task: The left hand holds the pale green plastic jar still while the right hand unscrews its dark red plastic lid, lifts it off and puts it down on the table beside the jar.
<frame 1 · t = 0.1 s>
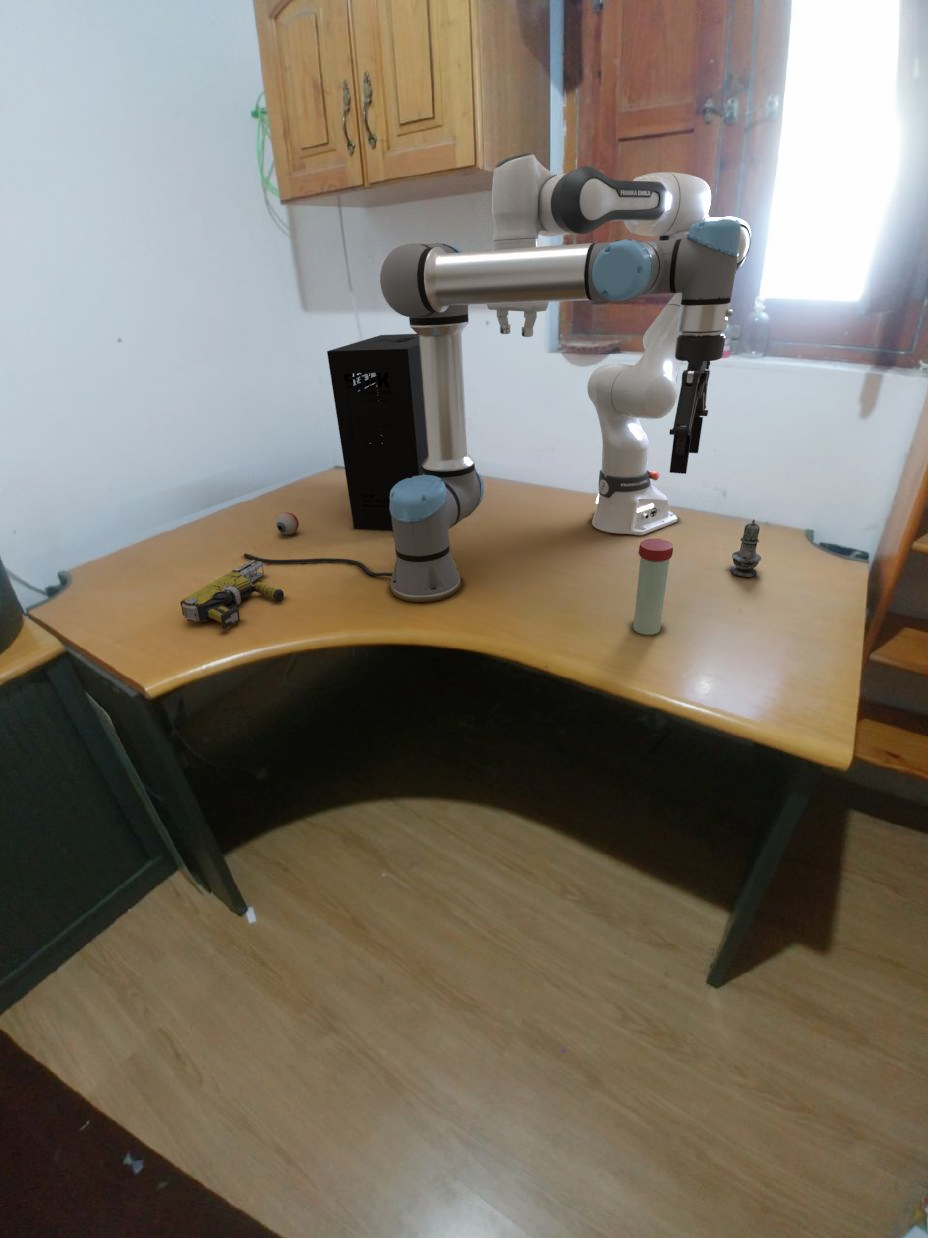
left hand: (684, 462, 109), 28 cm above the table, tool pointing down, fingers open, 13 cm apart
right hand: (516, 335, 125), 48 cm above the table, tool pointing down, fingers open, 8 cm apart
toy gun: (247, 602, 131), on the table
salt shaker: (743, 572, 132), on the table
jar: (646, 628, 114), on the table
black computer case: (409, 506, 180), on the table
eyeball: (289, 534, 165), on the table
lid: (656, 546, 105), point 17 cm above the table, screwed on, not yet turned
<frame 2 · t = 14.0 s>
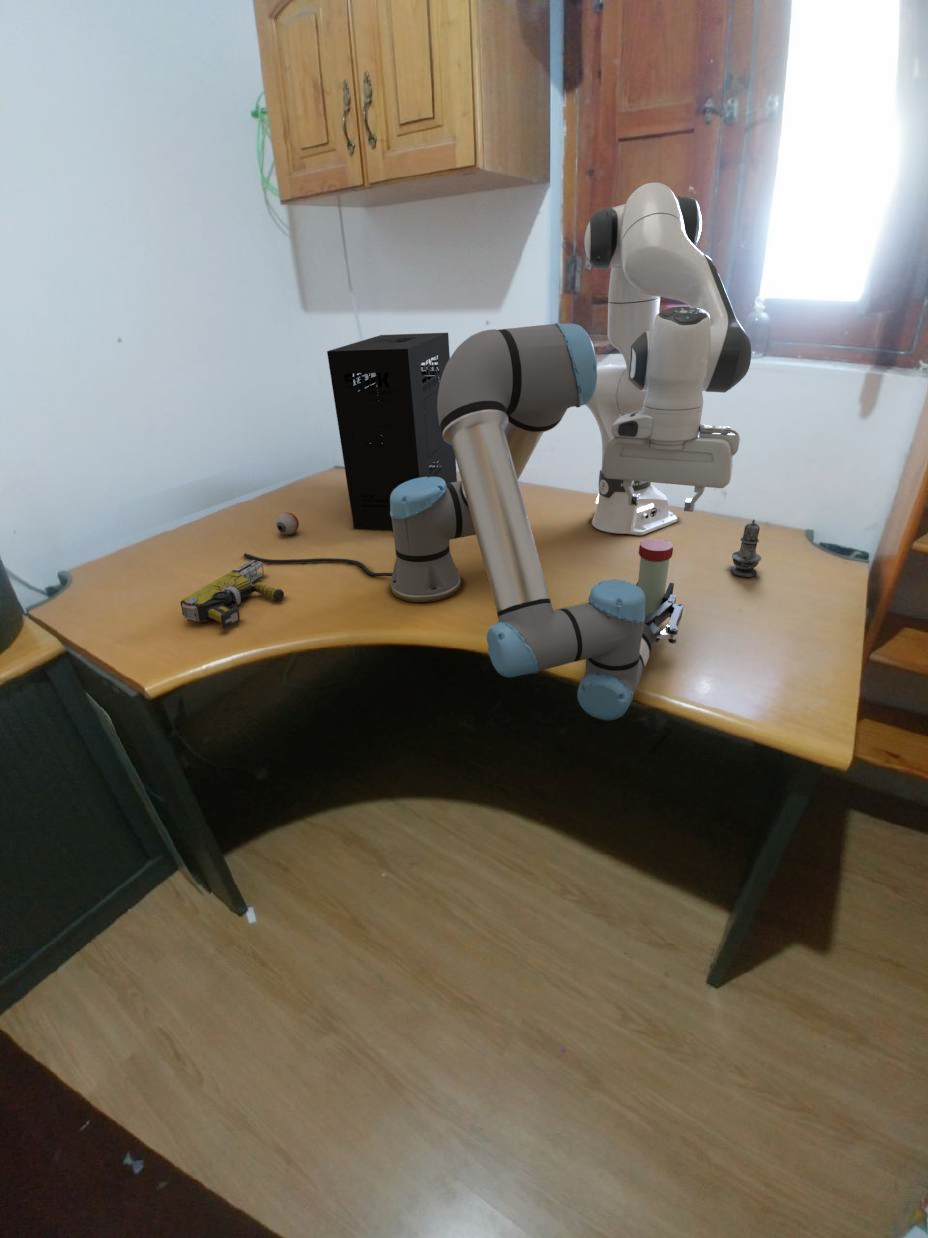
left hand: (655, 587, 115), 6 cm above the table, tool horizontal, fingers closed on jar, 5 cm apart
right hand: (660, 507, 102), 24 cm above the table, tool pointing down, fingers open, 8 cm apart
jar: (646, 628, 114), on the table, touching left hand
everything else where it was.
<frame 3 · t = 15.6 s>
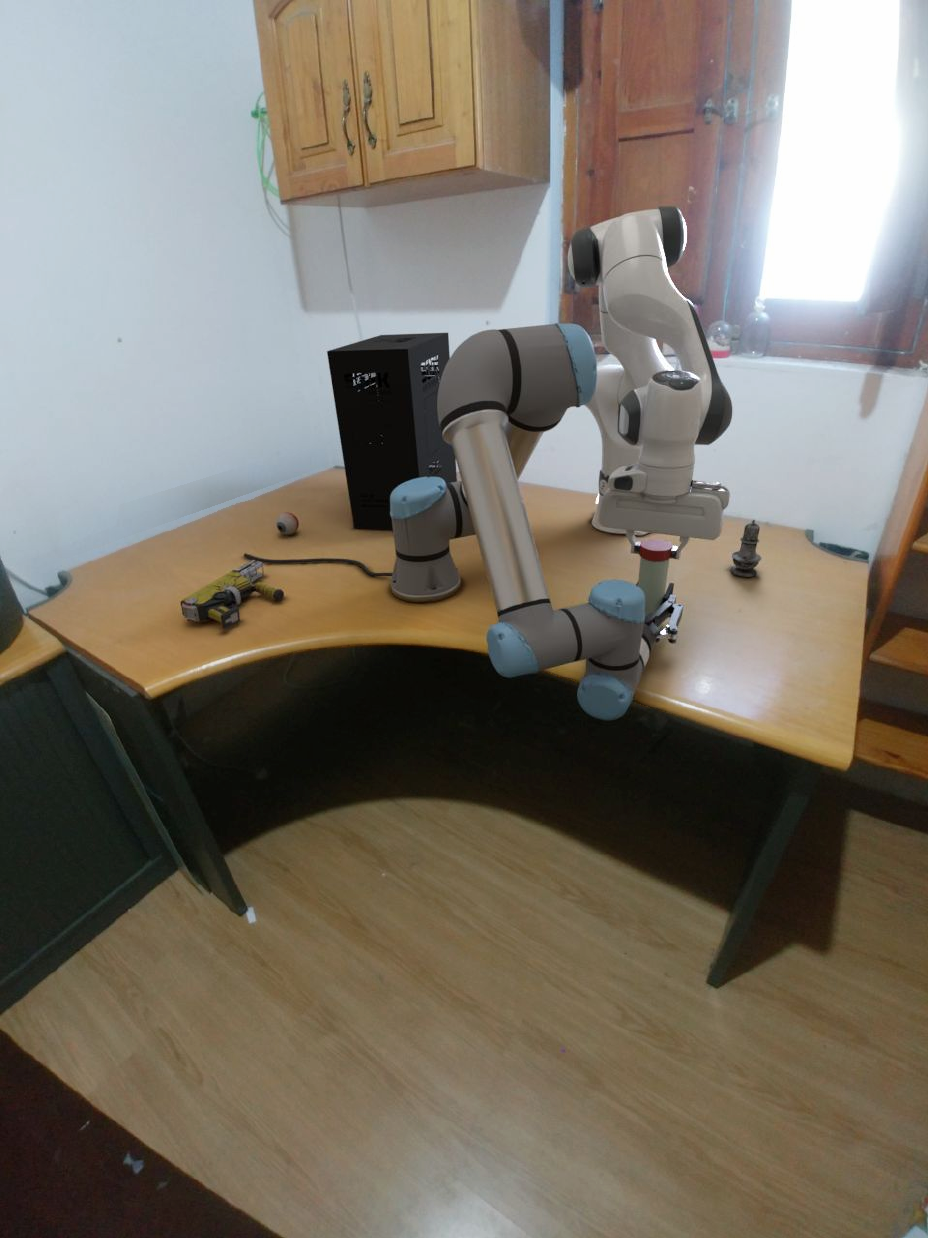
left hand: (655, 587, 115), 6 cm above the table, tool horizontal, fingers closed on jar, 5 cm apart
right hand: (654, 555, 106), 15 cm above the table, tool pointing down, fingers closed on lid, 5 cm apart
jar: (646, 628, 114), on the table, touching left hand
lid: (656, 546, 105), point 17 cm above the table, screwed on, not yet turned, touching right hand
everything else where it was.
when the right hand's fingers open (15 cm above the table, at t = 17.0 s): lid stays where it is, point 17 cm above the table.
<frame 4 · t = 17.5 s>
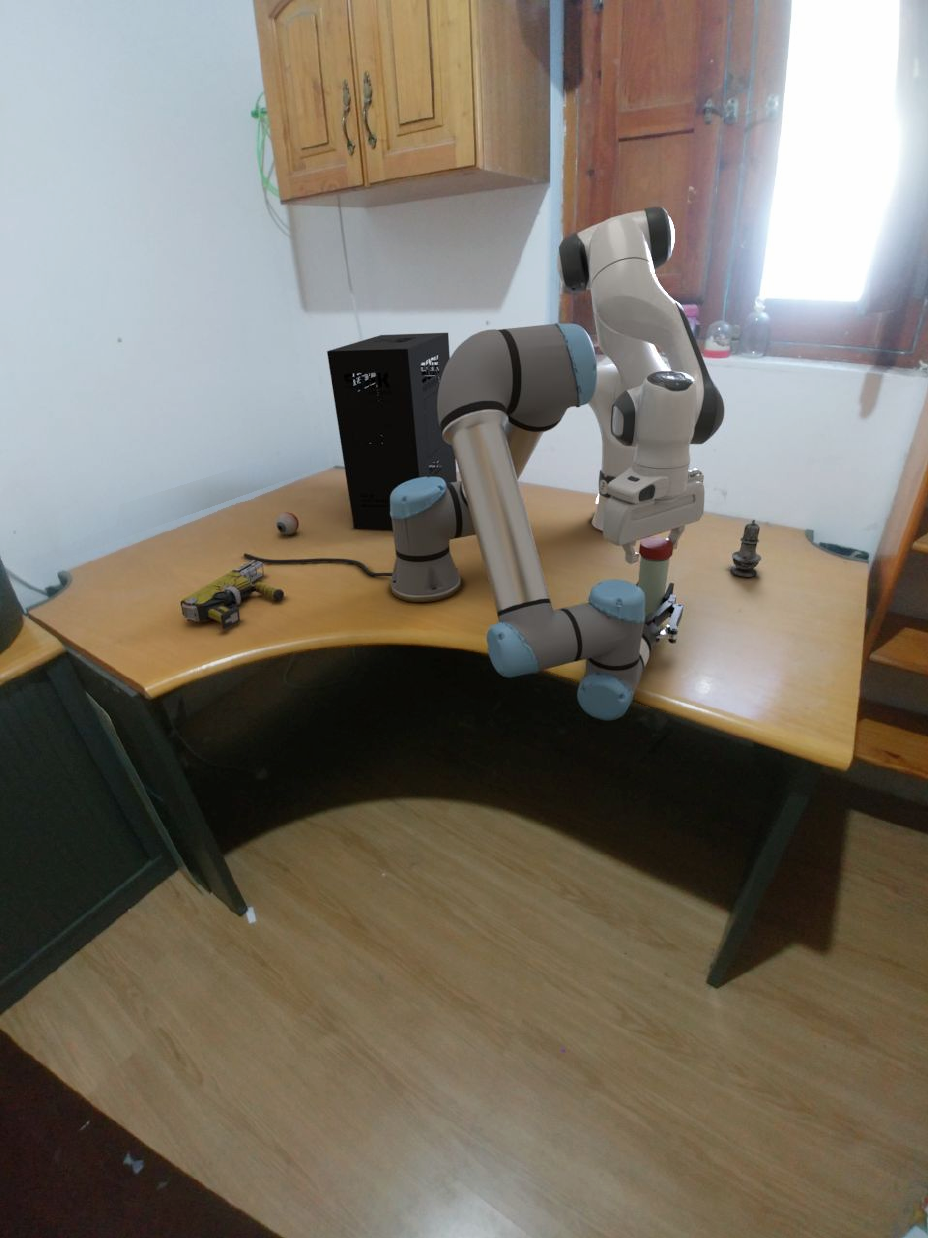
left hand: (655, 587, 115), 6 cm above the table, tool horizontal, fingers closed on jar, 5 cm apart
right hand: (651, 555, 106), 15 cm above the table, tool pointing down, fingers open, 8 cm apart
jar: (646, 628, 114), on the table, touching left hand
lid: (656, 545, 105), point 17 cm above the table, turned 88° so far, risen 0.2 cm, still on its thread
everything else where it was.
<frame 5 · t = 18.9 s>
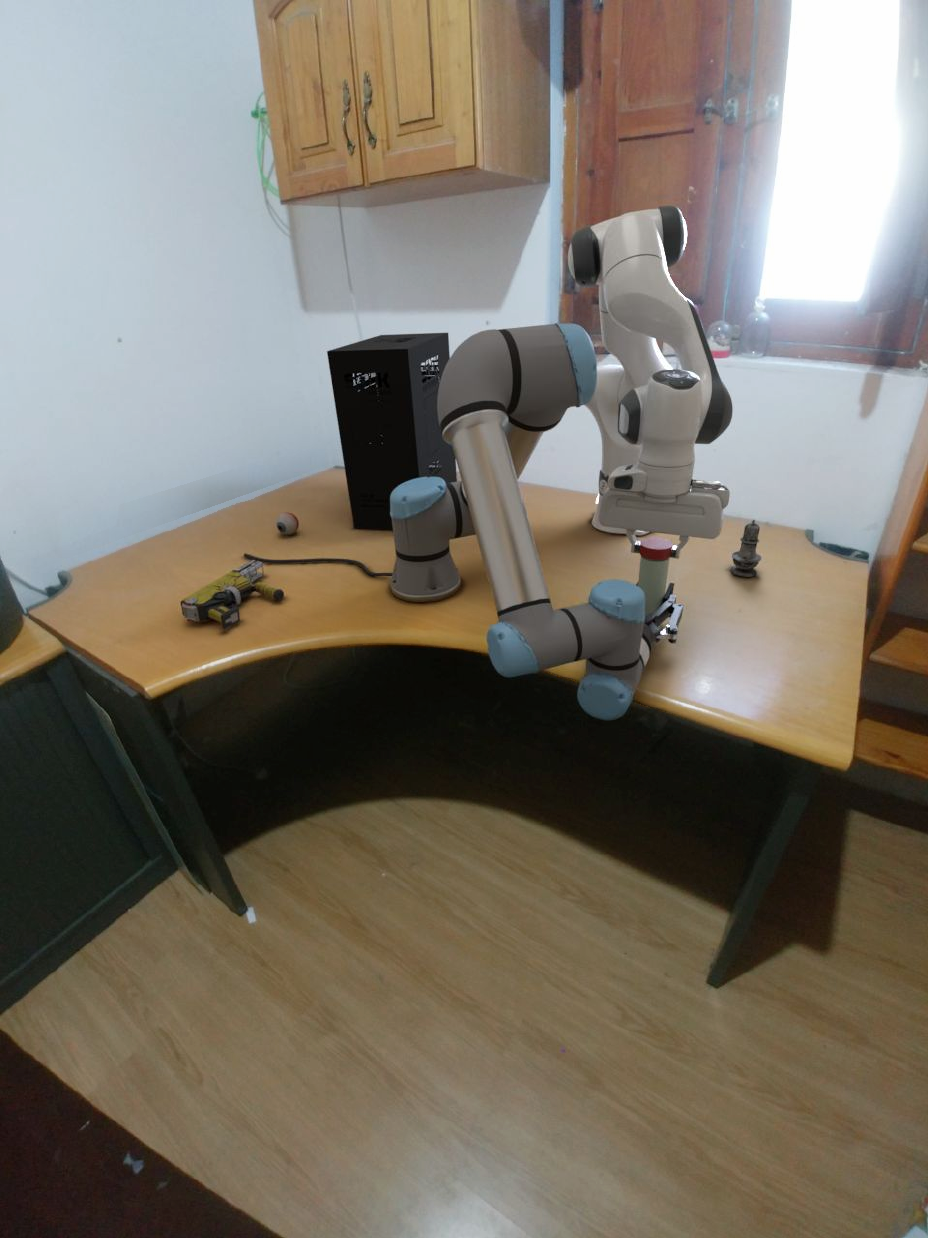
left hand: (655, 587, 115), 6 cm above the table, tool horizontal, fingers closed on jar, 5 cm apart
right hand: (654, 554, 106), 15 cm above the table, tool pointing down, fingers closed on lid, 5 cm apart
jar: (646, 628, 114), on the table, touching left hand
lid: (656, 545, 105), point 17 cm above the table, turned 88° so far, risen 0.2 cm, still on its thread, touching right hand
everything else where it was.
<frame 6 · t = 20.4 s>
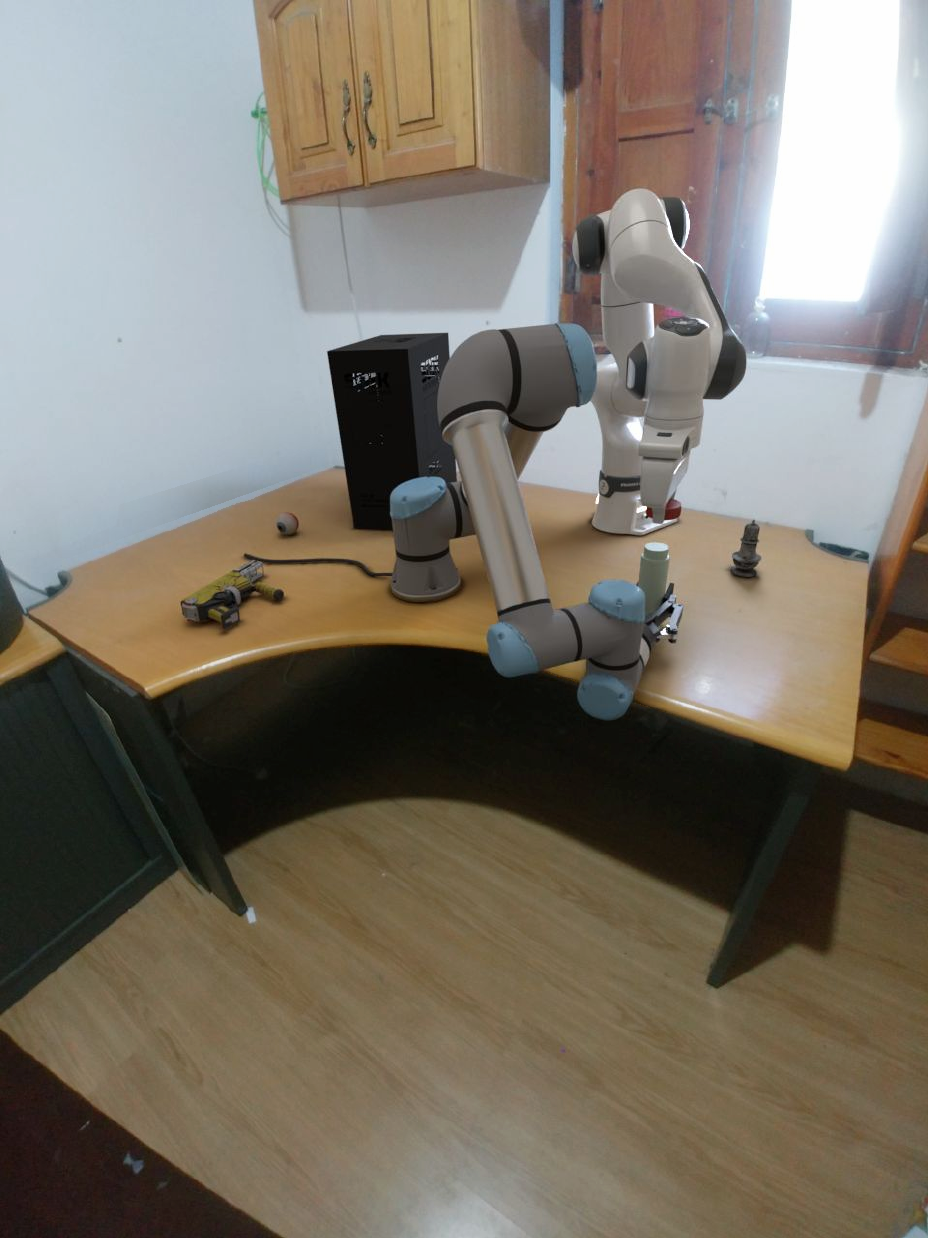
left hand: (656, 587, 115), 6 cm above the table, tool horizontal, fingers closed on jar, 5 cm apart
right hand: (662, 515, 103), 22 cm above the table, tool pointing down, fingers closed on lid, 5 cm apart
jar: (646, 628, 114), on the table, touching left hand
lid: (663, 505, 102), point 24 cm above the table, off its thread, touching right hand
everything else where it was.
when the right hand's fingers open (2 cm above the table, at t = 26.0 s): lid drops 2 cm, point 2 cm above the table.
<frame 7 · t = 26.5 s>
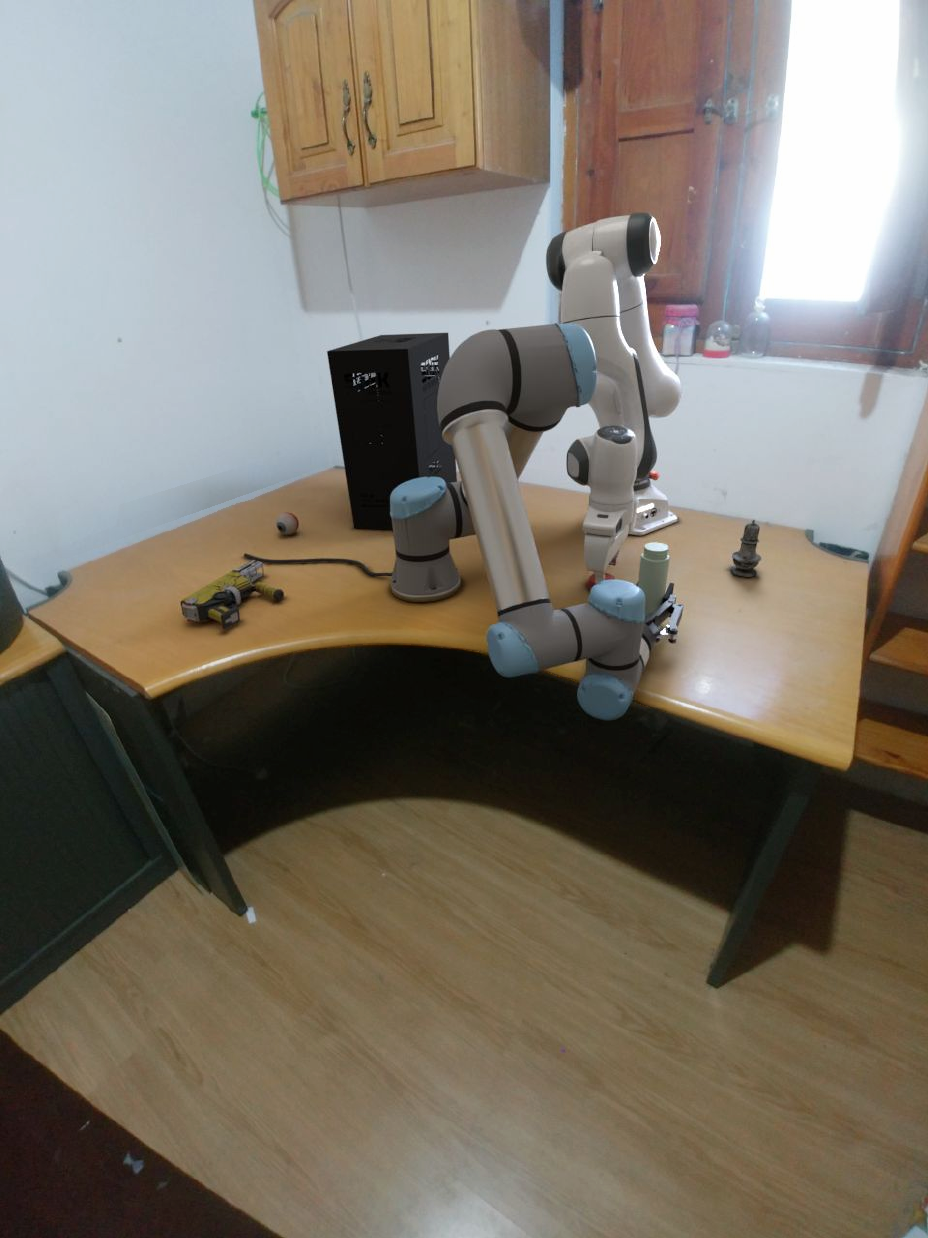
left hand: (655, 587, 115), 6 cm above the table, tool horizontal, fingers closed on jar, 5 cm apart
right hand: (606, 573, 128), 3 cm above the table, tool pointing down, fingers open, 8 cm apart
jar: (646, 628, 114), on the table, touching left hand
lid: (602, 579, 128), point 2 cm above the table, off its thread
everything else where it was.
when the left hand's fingers open (6 cm above the table, at t = 26.8 s): jar stays where it is, on the table.
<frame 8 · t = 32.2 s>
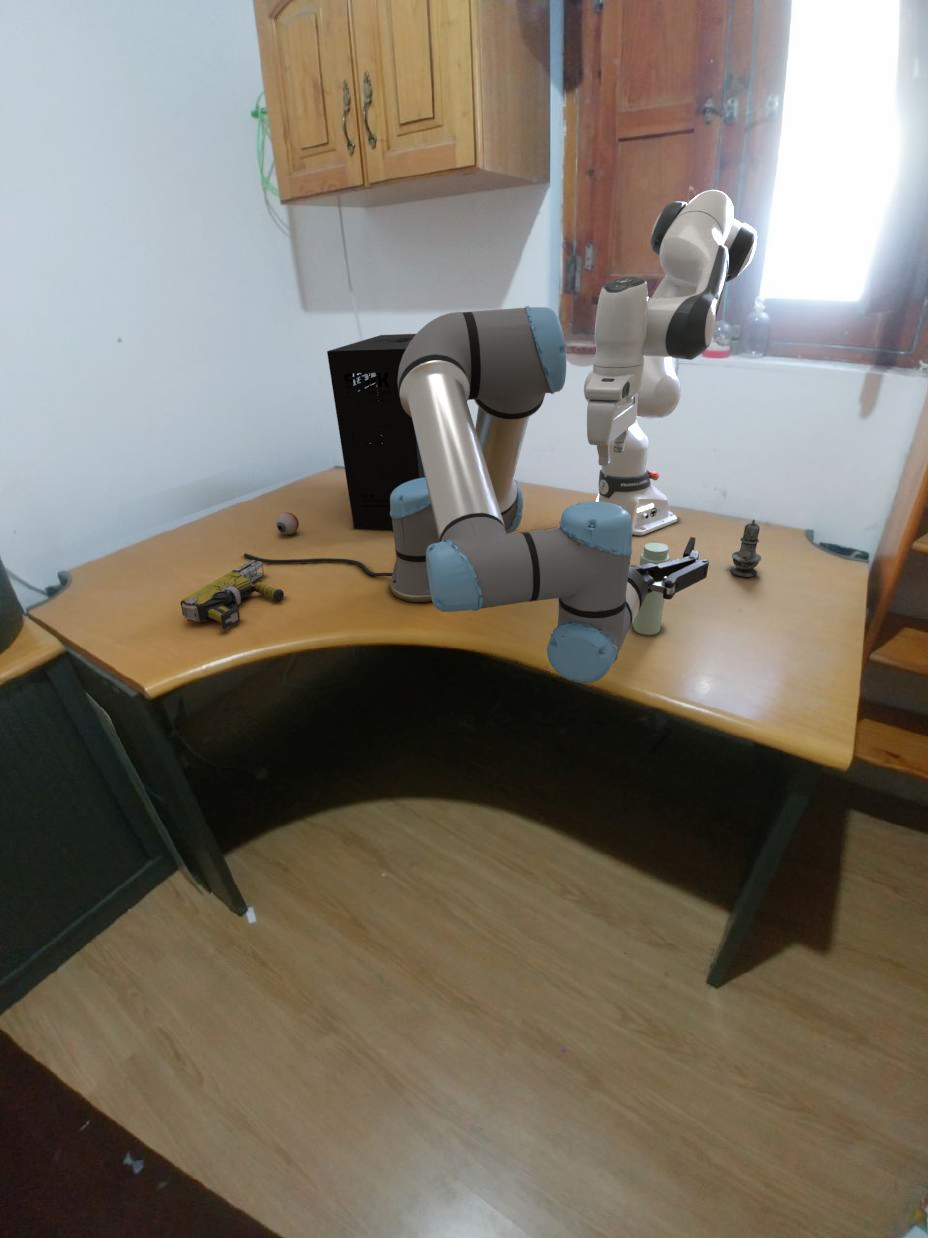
left hand: (646, 539, 95), 22 cm above the table, tool horizontal, fingers open, 13 cm apart
right hand: (611, 458, 116), 28 cm above the table, tool pointing down, fingers open, 8 cm apart
jar: (646, 628, 114), on the table
everything else where it was.
at the end: lid came off its thread; lid point 1.6 cm above the table; the left hand is holding nothing; the right hand is holding nothing; jar tilted 0°; jar moved 0.0 cm from its start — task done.
